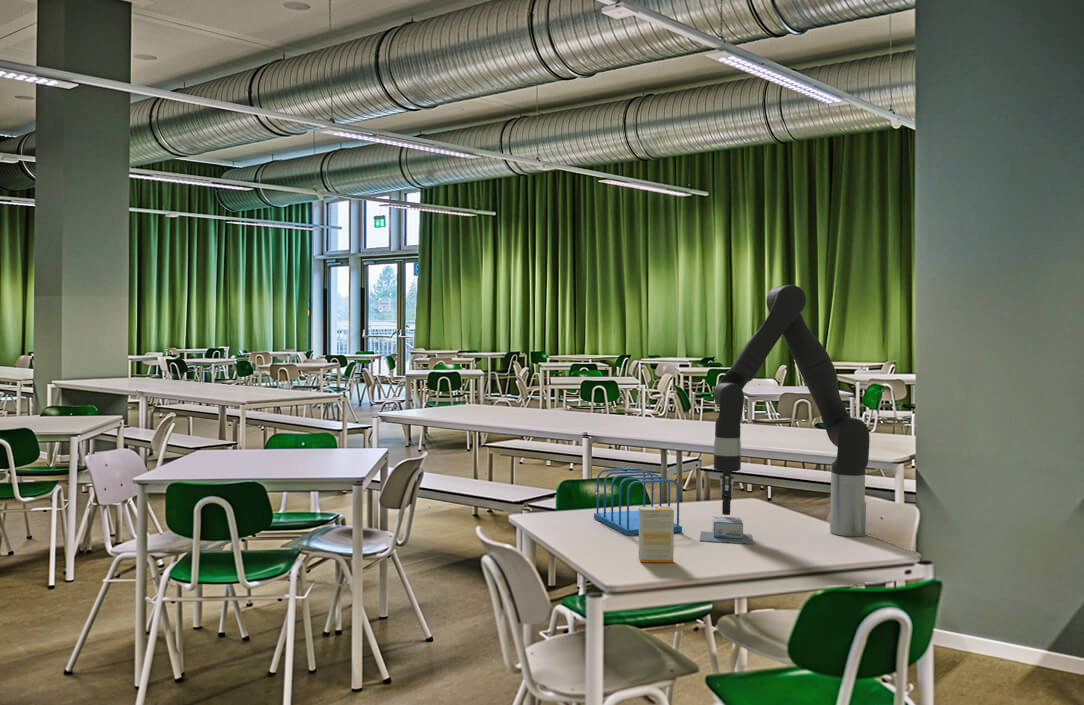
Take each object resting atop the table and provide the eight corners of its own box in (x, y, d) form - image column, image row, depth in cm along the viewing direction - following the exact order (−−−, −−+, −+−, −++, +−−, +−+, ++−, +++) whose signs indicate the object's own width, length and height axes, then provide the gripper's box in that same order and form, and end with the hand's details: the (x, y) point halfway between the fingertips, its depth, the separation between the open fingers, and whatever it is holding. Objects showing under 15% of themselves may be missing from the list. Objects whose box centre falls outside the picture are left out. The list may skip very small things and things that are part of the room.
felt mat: (751, 535, 246) (751, 534, 246) (752, 544, 235) (752, 543, 235) (700, 532, 249) (700, 531, 249) (699, 541, 237) (699, 540, 237)
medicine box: (741, 517, 248) (743, 523, 239) (740, 533, 248) (743, 539, 239) (712, 516, 249) (714, 521, 240) (712, 532, 249) (713, 538, 240)
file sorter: (593, 519, 267) (594, 468, 267) (645, 516, 272) (646, 467, 272) (626, 536, 243) (627, 480, 243) (682, 533, 249) (683, 479, 249)
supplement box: (671, 558, 217) (672, 505, 217) (673, 563, 212) (674, 509, 212) (637, 558, 217) (638, 505, 217) (639, 562, 212) (640, 508, 212)
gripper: (741, 456, 240) (740, 519, 241) (740, 451, 253) (739, 511, 253) (713, 455, 242) (712, 518, 242) (714, 450, 255) (713, 509, 255)
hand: (726, 514), depth 248 cm, fingers closed
